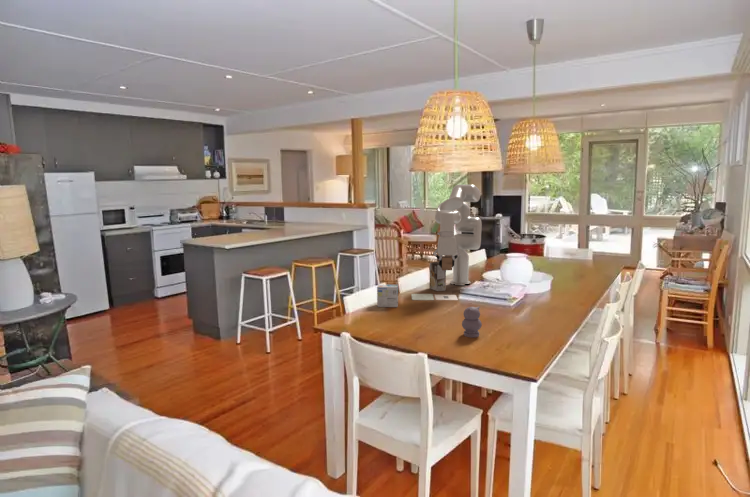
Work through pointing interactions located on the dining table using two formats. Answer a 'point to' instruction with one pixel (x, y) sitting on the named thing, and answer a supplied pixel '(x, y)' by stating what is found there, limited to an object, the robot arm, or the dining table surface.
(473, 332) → the cat figurine
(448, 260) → the walnut block
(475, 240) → the robot arm
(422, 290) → the dining table surface
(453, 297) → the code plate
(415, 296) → the sage mat
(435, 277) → the coffee box
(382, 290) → the light bulb box
